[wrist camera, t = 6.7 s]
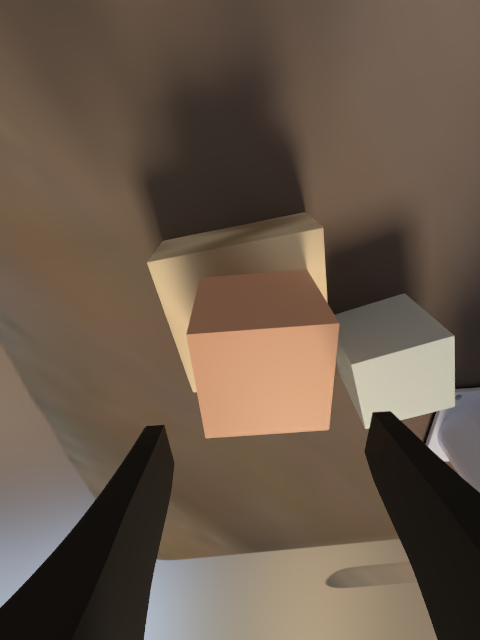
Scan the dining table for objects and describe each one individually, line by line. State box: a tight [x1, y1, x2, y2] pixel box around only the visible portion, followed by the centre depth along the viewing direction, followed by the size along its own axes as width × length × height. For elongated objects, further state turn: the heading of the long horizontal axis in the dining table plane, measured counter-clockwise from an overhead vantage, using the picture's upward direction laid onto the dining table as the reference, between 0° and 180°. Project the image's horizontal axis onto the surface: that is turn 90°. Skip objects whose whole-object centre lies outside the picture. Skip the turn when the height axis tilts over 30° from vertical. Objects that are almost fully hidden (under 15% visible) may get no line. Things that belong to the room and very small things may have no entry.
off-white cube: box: [335, 293, 455, 429], centre depth 19 cm, size 5×5×5 cm
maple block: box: [147, 212, 327, 392], centre depth 17 cm, size 8×8×4 cm
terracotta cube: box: [186, 269, 340, 438], centre depth 13 cm, size 5×5×5 cm
